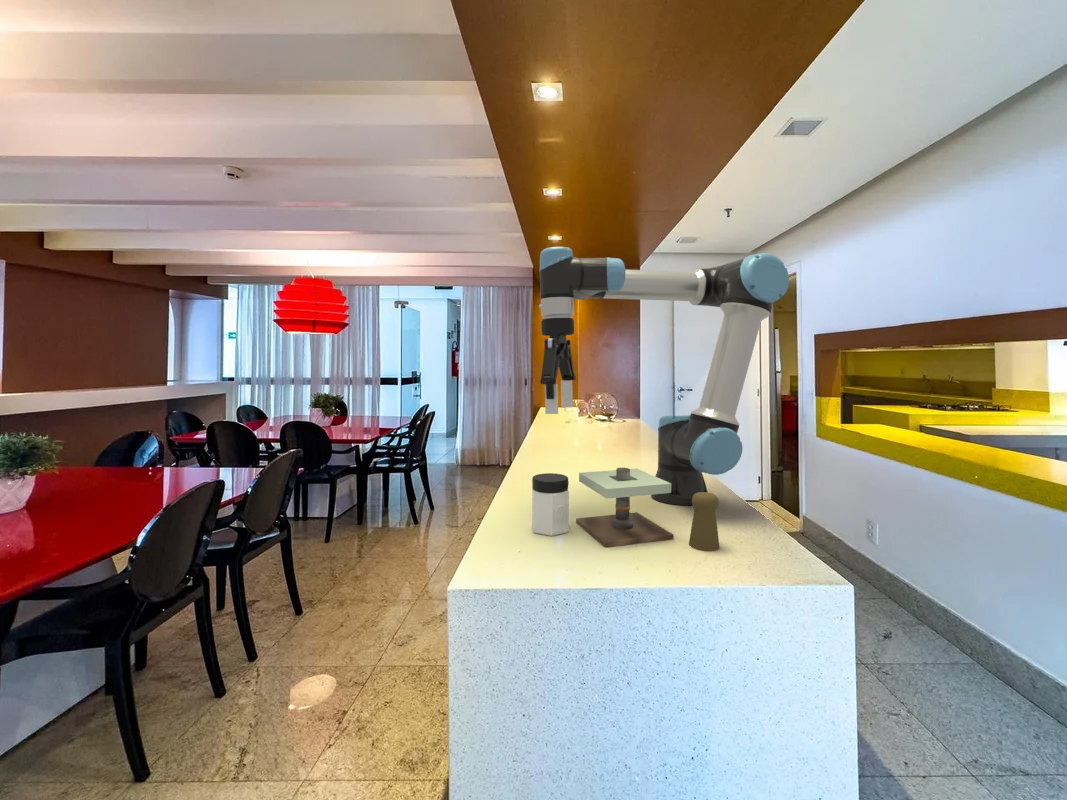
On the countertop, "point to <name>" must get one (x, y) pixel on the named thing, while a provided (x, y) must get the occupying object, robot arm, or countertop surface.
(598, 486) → the square plate with hole
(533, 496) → the jar
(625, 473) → the post
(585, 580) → the countertop surface
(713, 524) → the cork
